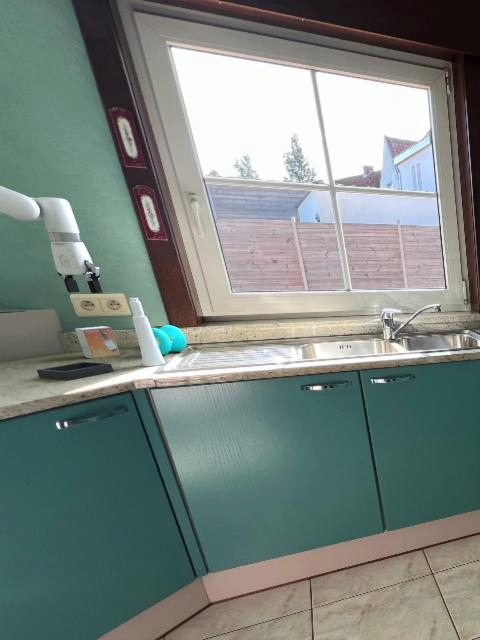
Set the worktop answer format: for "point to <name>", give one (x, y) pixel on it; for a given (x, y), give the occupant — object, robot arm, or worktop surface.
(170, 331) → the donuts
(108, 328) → the small box
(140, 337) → the cosmetic bottle
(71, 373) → the black tray
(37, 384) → the worktop surface
